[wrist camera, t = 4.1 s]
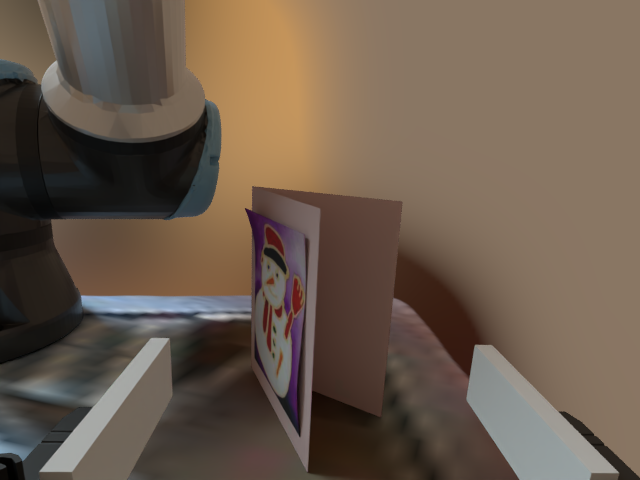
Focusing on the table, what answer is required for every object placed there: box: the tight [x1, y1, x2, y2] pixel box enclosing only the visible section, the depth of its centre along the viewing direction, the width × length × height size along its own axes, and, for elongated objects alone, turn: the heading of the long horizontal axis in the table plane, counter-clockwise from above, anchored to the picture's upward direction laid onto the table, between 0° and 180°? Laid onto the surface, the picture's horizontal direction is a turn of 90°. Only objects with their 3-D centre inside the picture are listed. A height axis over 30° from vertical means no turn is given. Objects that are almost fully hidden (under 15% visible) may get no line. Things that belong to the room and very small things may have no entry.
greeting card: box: [245, 186, 402, 472], centre depth 25 cm, size 11×7×15 cm, turn 26°
